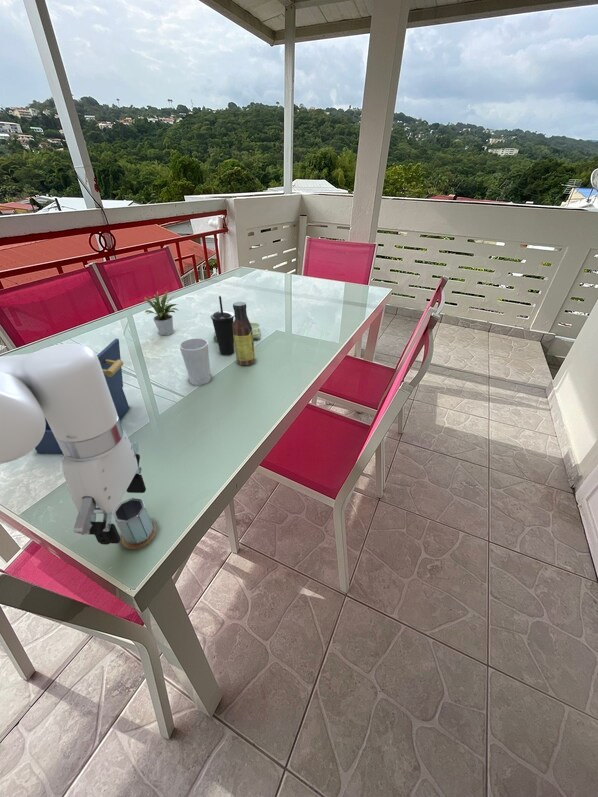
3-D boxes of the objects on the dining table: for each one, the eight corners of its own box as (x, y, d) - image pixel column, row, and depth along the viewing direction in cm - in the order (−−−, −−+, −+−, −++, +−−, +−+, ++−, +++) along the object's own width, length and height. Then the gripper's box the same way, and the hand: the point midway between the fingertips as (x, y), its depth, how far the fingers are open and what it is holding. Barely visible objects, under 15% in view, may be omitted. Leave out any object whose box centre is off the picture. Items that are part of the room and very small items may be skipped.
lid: (72, 377, 63) (96, 381, 64) (115, 338, 78) (134, 342, 78) (83, 430, 71) (103, 433, 71) (120, 385, 85) (137, 389, 86)
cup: (218, 376, 103) (213, 341, 96) (202, 388, 97) (195, 352, 91) (198, 370, 106) (191, 336, 99) (181, 382, 100) (173, 346, 93)
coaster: (126, 556, 55) (125, 554, 55) (118, 531, 59) (117, 530, 59) (160, 538, 58) (159, 536, 58) (150, 515, 62) (150, 514, 61)
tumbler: (129, 550, 55) (117, 527, 52) (122, 530, 58) (110, 507, 55) (156, 535, 58) (147, 512, 54) (149, 517, 61) (139, 494, 57)
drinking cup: (212, 356, 114) (203, 299, 103) (220, 346, 121) (213, 291, 109) (233, 358, 113) (227, 300, 102) (240, 348, 120) (235, 293, 108)
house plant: (151, 344, 122) (139, 300, 112) (139, 332, 130) (127, 291, 121) (188, 334, 129) (180, 293, 120) (174, 324, 138) (166, 284, 128)
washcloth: (261, 341, 125) (260, 333, 123) (213, 343, 123) (212, 335, 121) (259, 327, 136) (259, 320, 134) (215, 329, 133) (214, 322, 132)
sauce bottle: (258, 363, 110) (254, 305, 99) (240, 368, 108) (234, 308, 96) (250, 355, 115) (245, 299, 104) (233, 359, 112) (226, 302, 101)
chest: (37, 453, 75) (24, 431, 71) (81, 407, 89) (71, 386, 86) (95, 454, 75) (85, 432, 71) (129, 407, 89) (122, 387, 86)
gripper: (96, 398, 52) (125, 475, 61) (17, 482, 38) (71, 565, 47) (144, 399, 52) (165, 476, 61) (84, 484, 38) (123, 566, 47)
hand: (124, 514), depth 54 cm, fingers open, 9 cm apart
